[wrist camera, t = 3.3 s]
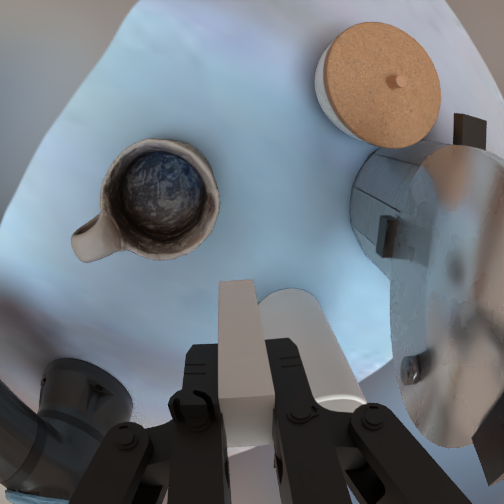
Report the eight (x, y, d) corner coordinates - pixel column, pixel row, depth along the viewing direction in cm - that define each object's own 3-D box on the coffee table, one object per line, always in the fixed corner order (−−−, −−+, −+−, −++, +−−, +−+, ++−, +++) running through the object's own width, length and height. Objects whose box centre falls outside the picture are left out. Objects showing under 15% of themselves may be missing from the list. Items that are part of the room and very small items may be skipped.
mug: (240, 198, 30) (247, 232, 20) (142, 265, 31) (115, 319, 22) (182, 117, 26) (161, 111, 17) (87, 194, 28) (37, 225, 19)
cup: (325, 287, 34) (383, 389, 20) (315, 343, 38) (354, 445, 23) (254, 288, 34) (276, 403, 19) (251, 345, 37) (266, 457, 22)
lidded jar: (335, 160, 29) (379, 176, 20) (279, 67, 25) (304, 42, 16) (412, 116, 27) (469, 120, 19) (365, 29, 23) (413, 3, 15)
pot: (331, 291, 35) (365, 349, 25) (340, 104, 27) (394, 97, 17) (439, 278, 36) (485, 320, 26) (460, 123, 28) (523, 133, 18)
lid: (388, 329, 23) (370, 330, 24) (416, 137, 17) (395, 134, 17) (451, 520, 8) (425, 529, 8) (652, 214, 1) (641, 207, 2)
